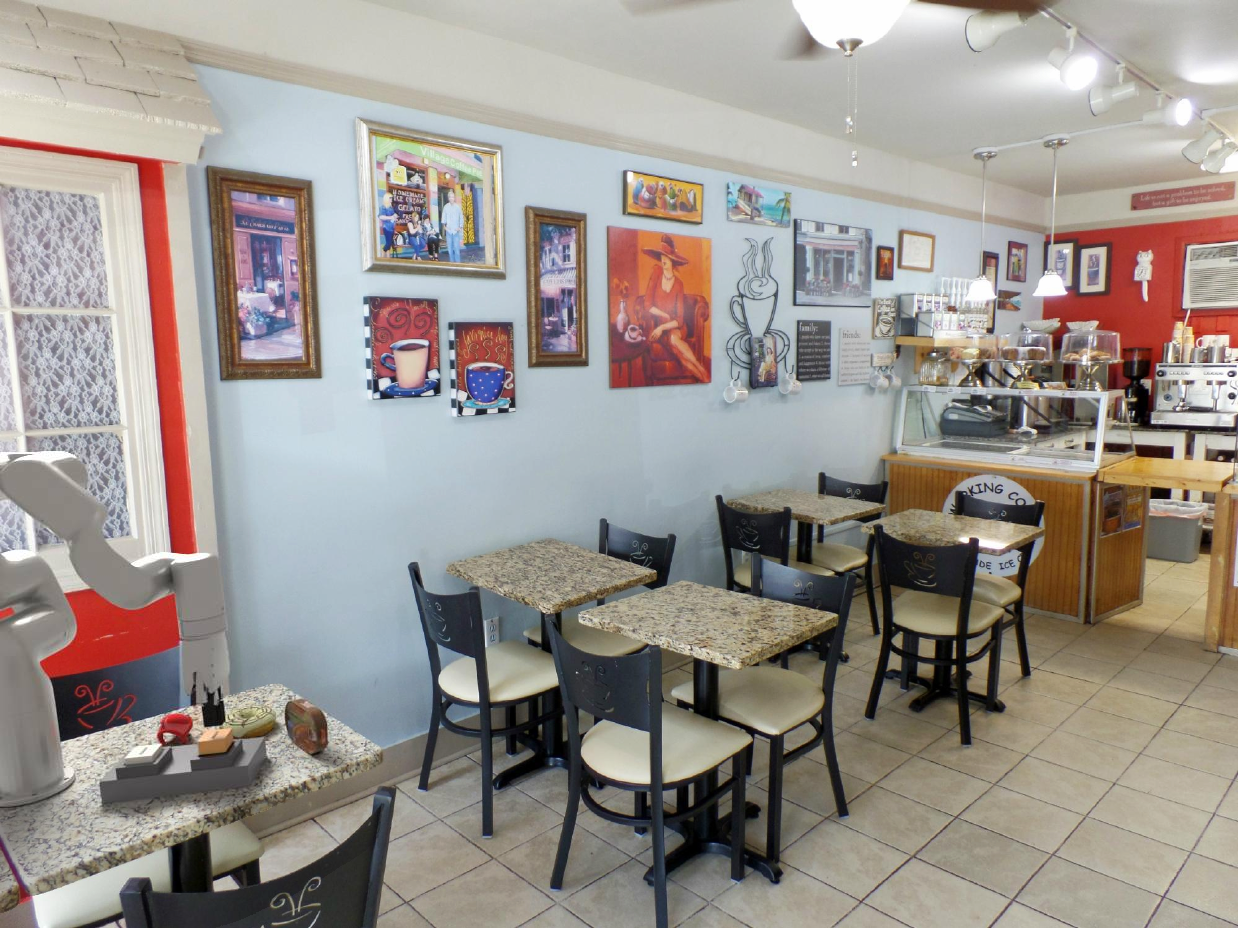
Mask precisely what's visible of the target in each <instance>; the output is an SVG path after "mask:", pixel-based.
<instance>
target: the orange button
mask: <svg viewBox="0 0 1238 928" xmlns="http://www.w3.org/2000/svg"><path fill="white" fill-rule="evenodd" d="M233 740H234V739H233V731H232V728H227V729H219V728H218V729H209V730H205V732H204V733H203V734H202V735H201V737H200V738H199V739H198V741H197V744H198V751H199V755H202V754H212V753H221V752H226V751H227V749H228V748H229V746H230V745H231V743H232V742H233Z"/></svg>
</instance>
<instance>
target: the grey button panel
mask: <svg viewBox="0 0 1238 928" xmlns="http://www.w3.org/2000/svg"><path fill="white" fill-rule="evenodd" d="M162 749H163V752H162V753H161V754H160V755H159V756H158V758H157V759H156V760H155V761H154V762H150V763H141V764H132V765H125V759H124V758H125V757H126V756H127V755H128V754H129V753H130V752H131V751H132V750H130V751H126V753H124V755H123V756H122V757H121V758H119V760H118V761H117V762H116V763H115V765H113V766H112V768H111V769H110V770H108V772H107V773H106V774H105V775H104V776H103V777H102V778H101V779H100V781H98V782H99V792H100V799H101V804H102V805H103V804H104V805H105V804H111V803H120V802H129V801H130V802H131V801H137V800H147V799H155V798H162V797H163V798H164V797H173V796H182V795H190V794H198V793H207V792H217V791H224V790H225V791H226V790H232V789H234V788H235V789H242V788H243V789H244V788H250V787H251V786H252V784H253V782H254V780H255V779H256V777H257V775H258V773H259V771H260V770H261V768H262V766H263V765H264V763H265V761H266V759H267V758H268V754H267V744H266V737H265V736H262V737H253V738H249V739H233V742H232V743H231V745H230V746H229V748H228V749H227V751H226V752H221V753H212V754H202V755H199V751H198V743H195V744H194V743H193V744H184V745H178V746H177V745H176V746H170V745H169V746H168V745H167V746H162ZM235 789H234V790H235Z"/></svg>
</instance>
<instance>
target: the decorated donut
mask: <svg viewBox="0 0 1238 928" xmlns="http://www.w3.org/2000/svg"><path fill="white" fill-rule="evenodd" d="M225 717H226V721H225V722H224V723H223V725H221V726H218V729H227V728H232V731H233V740H234V739H248V738H249V739H250V738H258V737H259V736H263V735H266V734H267V733H268V732H270V731H271V730H272V729H273V728H274V727H275V724H276V722H277V712H276V711H275V709H274V708H272V707H270V706H267V705H258V704H256V705H253V704H252V705H246V706H243V707H242V706H241V707H239V708H237V709H235V710H231V711H230V712H228V713H225Z"/></svg>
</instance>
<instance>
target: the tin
mask: <svg viewBox="0 0 1238 928" xmlns="http://www.w3.org/2000/svg"><path fill="white" fill-rule="evenodd" d="M284 723H285V728H286V732H287V734H288V735H287V736H288V737H289V739H290V741H291V742H292V743H293V744H294V745H296V746H297V747H299V748H300V749H302V751H304V752H305V753H307V754H309V755H314V754H315V753H316V754H317V753H319V752H322V751H324V750H326V748H327V747H328V744H329V737H328V735H329V734H328V731H329V730H328V726H329V725H328V722H327V718H326V716H325V713H324V712H323V711H322V709H320V708H319V707H318V706H316V705H315V704H313V703H312V702H309V701H308V700H307V699H304V698H298V699H294V700H288V701H287V702H286V704H285V707H284Z"/></svg>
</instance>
